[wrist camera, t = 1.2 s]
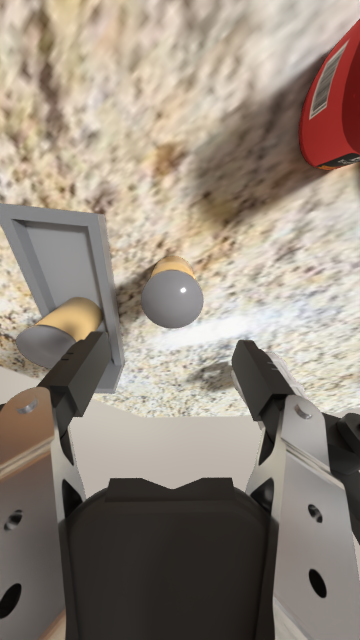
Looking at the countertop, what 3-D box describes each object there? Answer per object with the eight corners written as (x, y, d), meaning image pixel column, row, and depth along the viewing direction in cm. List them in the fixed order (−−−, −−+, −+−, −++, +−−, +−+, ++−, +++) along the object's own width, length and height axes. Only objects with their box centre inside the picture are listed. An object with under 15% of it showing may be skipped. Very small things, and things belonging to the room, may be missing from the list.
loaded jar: (57, 294, 22) (4, 327, 15) (100, 297, 22) (68, 330, 15) (69, 328, 25) (30, 368, 18) (107, 330, 25) (82, 370, 18)
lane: (8, 204, 17) (-72, 196, 11) (104, 214, 17) (72, 211, 12) (71, 360, 29) (47, 391, 24) (125, 362, 30) (114, 393, 24)
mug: (268, 378, 34) (308, 445, 24) (218, 371, 32) (238, 440, 22) (289, 354, 30) (348, 421, 20) (233, 344, 28) (266, 413, 18)
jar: (151, 252, 20) (139, 269, 13) (197, 256, 20) (208, 274, 13) (151, 295, 23) (142, 326, 16) (191, 298, 23) (198, 329, 16)
